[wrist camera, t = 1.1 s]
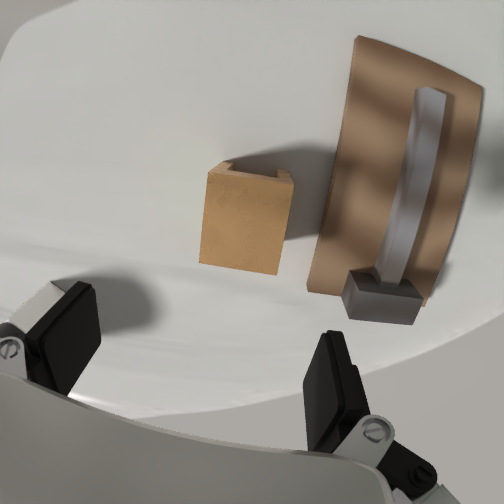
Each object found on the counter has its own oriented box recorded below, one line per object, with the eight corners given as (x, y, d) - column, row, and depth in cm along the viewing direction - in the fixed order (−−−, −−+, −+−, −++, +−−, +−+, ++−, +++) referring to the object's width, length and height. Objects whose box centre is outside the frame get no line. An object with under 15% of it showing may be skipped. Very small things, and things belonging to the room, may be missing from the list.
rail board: (354, 39, 22) (372, 22, 16) (474, 87, 22) (505, 85, 17) (306, 284, 31) (312, 314, 26) (419, 299, 31) (438, 327, 26)
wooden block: (223, 161, 27) (208, 171, 21) (288, 171, 27) (294, 185, 21) (214, 232, 30) (199, 262, 23) (275, 242, 30) (276, 275, 23)
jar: (89, 340, 37) (48, 399, 26) (48, 331, 37) (6, 382, 26) (72, 283, 33) (17, 339, 22) (30, 278, 34) (-24, 325, 23)
